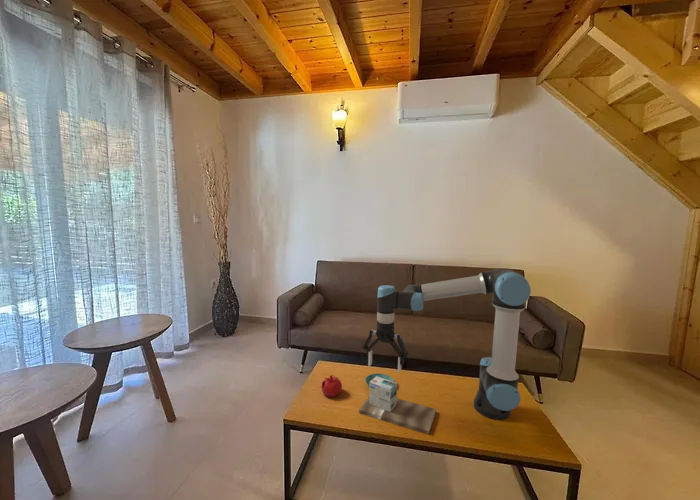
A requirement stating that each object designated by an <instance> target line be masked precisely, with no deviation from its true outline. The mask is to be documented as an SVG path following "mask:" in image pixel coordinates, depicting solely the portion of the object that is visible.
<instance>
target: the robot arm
mask: <svg viewBox="0 0 700 500" xmlns="http://www.w3.org/2000/svg"><path fill="white" fill-rule="evenodd" d="M531 292H532V290H531V286H530V283H529V281H528V280H527V279H526V278H525V277H524V276H523V275H522V274H520V273H518V272H515V271H514V270H512V269H509V268H498V269H492V270H489V271H483V272H480V273H479V274H478V275H472V276H467V277H460V278H454V279H449V280H441V281H435V282H429V283H424V284H417V285H415V284H409V285H407V286H406V287H405V288H404V289H403V291H398V290H396V287H395V286H394V285H388V284H387V285H386V284H385V285H384V284H383V285H380V286H378V288H377V296H376V297H377V298H376V300H377V301H376V302H377V305H376V306H377V307H376V308H377V309H376V311H377V312H376V330H375V329H374V328H372V329H370V330H369V335H368V337H367V339H366V341H365V342H364V344H363V345H362V349H363V350H365V351H366V358H367V359H368V360H367V361H368V363H367V366H368V367H370V366H372V364H373V349H372V348H373V347H375V346H376V344H377V343H378V342H379V341H380V343H385V344H389V345H390V346H391V347H392V348H393V349H394V351H395V352H396V354H397V355H398V357H397V374H400V373H401V371H402V366H403V365H404V363H405V362H404V361H405V358H407V357H408V356H409V352H408V350H407V347H406V345H405V343H404V340H403V339H402V333H395V314H396V313H395V312H396V311H395V310H404V311H405V310H406V311H413V312H414V311H415V312H416V311H420V312H421V311H423V309H424V301H432V300H439V299H446V298H453V297H460V296H461V297H462V296H466V295H468V296H469V295H474V294H479V293H480V294H484V295H492V298H491V299H492V300H491V305H492V306H493V307H494V308H495V313H494V326H493V335H492V336H493V337H492V349H491V356H486V357H485V356H484V357H482V358H481V359H480V363H479V380H478V390H477V392H476V394H475V397H474V398H473V407H474V409H475V411H476V412H477V413H479V414H480V415H482V416H484V417H486V418H489V419H494V420H499V421H500V420H506V419H508V418H510V417H511V411H512V410H513V409H516V408H517V407H518V406H519V405H520V403H521V393H520V391H519V389H518V388H519V381H520V380H519V378H520V377H519V373H517V372H516V362H517V361H516V360H517V352H518V351H517V350H518V340H519V339H518V338H519V329H520V317H521V312H522V311H524V310H525V309H526V302H527V301H528V300H529V298H530V295H531ZM374 335H376V337H377V338H376V339H375V340H374V341H373V342H371V341H372V338H373V336H374ZM396 340H397V342H396ZM370 342H371V344H370ZM397 343H398V344H397ZM369 344H370V345H369Z"/></svg>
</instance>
